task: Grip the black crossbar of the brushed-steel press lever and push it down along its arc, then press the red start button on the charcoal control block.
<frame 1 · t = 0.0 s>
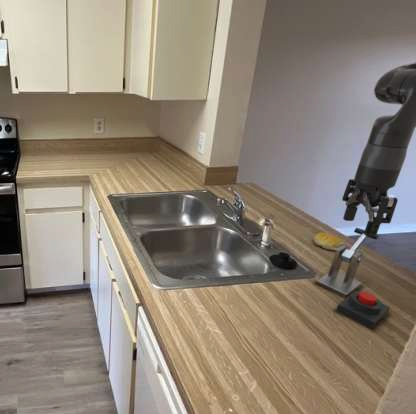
hand: (358, 227, 81), 23 cm above the worktop, tool pointing down, fingers open, 8 cm apart
lever bracket: (337, 284, 99), on the worktop
button block: (361, 312, 88), on the worktop
press lever: (356, 245, 96), point 12 cm above the worktop, hinge at 28.0°
bread roll: (327, 245, 120), on the worktop
start button: (367, 298, 86), point 4 cm above the worktop, slide at 0.1 cm
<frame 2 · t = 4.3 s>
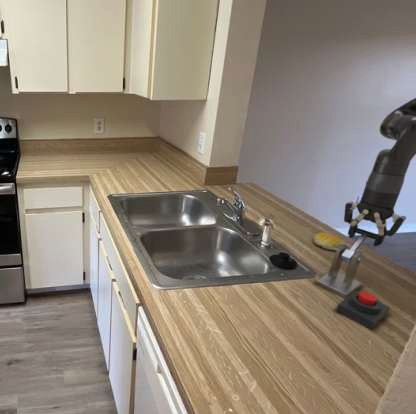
hand: (363, 240, 98), 12 cm above the worktop, tool pointing down, fingers closed on press lever, 5 cm apart
press lever: (356, 245, 96), point 12 cm above the worktop, hinge at 28.0°, touching gripper
everything else where it was.
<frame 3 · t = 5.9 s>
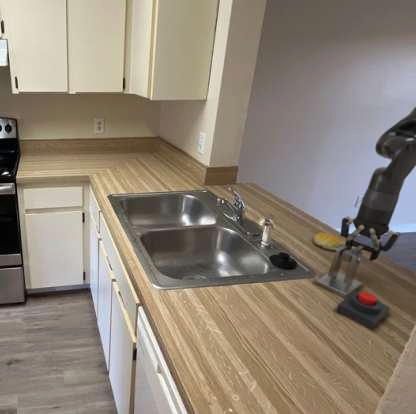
hand: (359, 255, 101), 7 cm above the worktop, tool pointing down, fingers closed on press lever, 5 cm apart
press lever: (355, 251, 97), point 10 cm above the worktop, hinge at -0.9°, touching gripper
everything else where it was.
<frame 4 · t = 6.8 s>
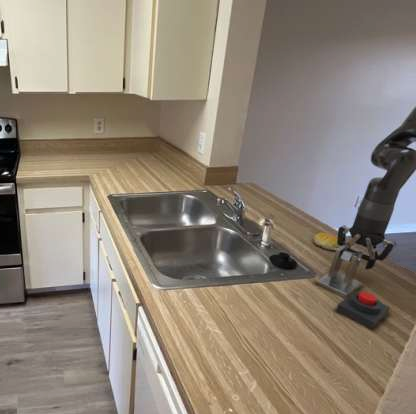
hand: (355, 263, 102), 4 cm above the worktop, tool pointing down, fingers closed on press lever, 5 cm apart
press lever: (353, 255, 97), point 9 cm above the worktop, hinge at -16.8°, touching gripper
everything else where it was.
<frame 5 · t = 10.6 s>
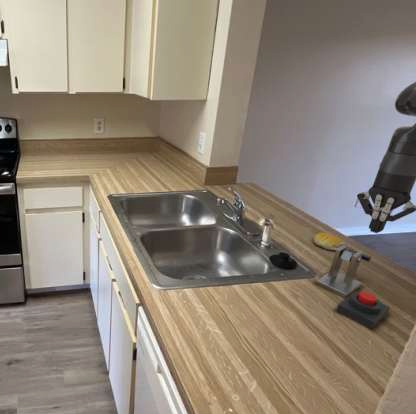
hand: (374, 231, 89), 19 cm above the worktop, tool pointing down, fingers closed
press lever: (353, 255, 97), point 9 cm above the worktop, hinge at -17.3°
everything else where it was.
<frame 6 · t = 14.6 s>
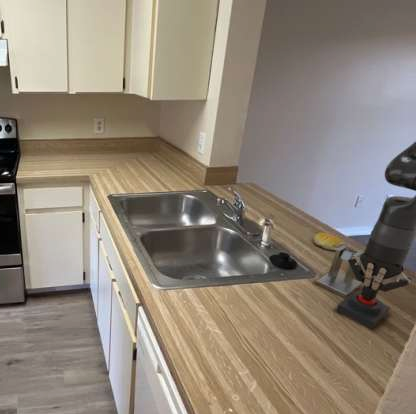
hand: (366, 298, 86), 5 cm above the worktop, tool pointing down, fingers closed
start button: (366, 301, 86), point 4 cm above the worktop, slide at -0.7 cm, touching gripper
everything else where it was.
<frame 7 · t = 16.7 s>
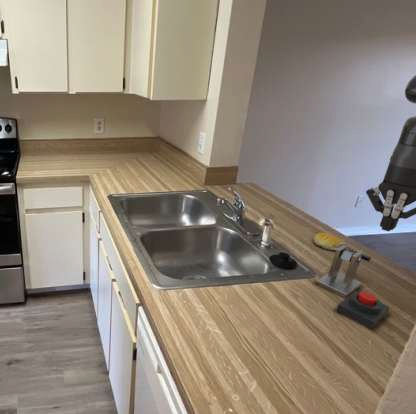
hand: (386, 229, 84), 22 cm above the worktop, tool pointing down, fingers closed
start button: (367, 298, 86), point 4 cm above the worktop, slide at 0.1 cm
everything else where it was.
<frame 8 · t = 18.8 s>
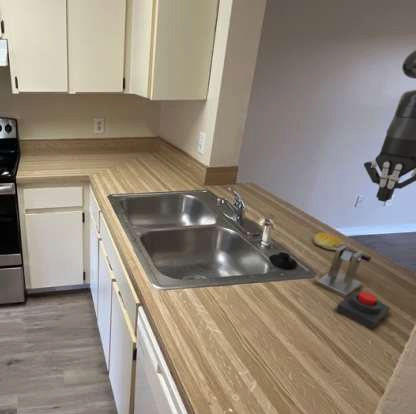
hand: (382, 200, 88), 27 cm above the worktop, tool pointing down, fingers closed
nothing on the worktop moved.
at the end: press lever at -17° (first picture: +28°); start button pushed in 1.1 cm at the most during the clip, back to where it started at the end; start button slide at 0.1 cm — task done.
